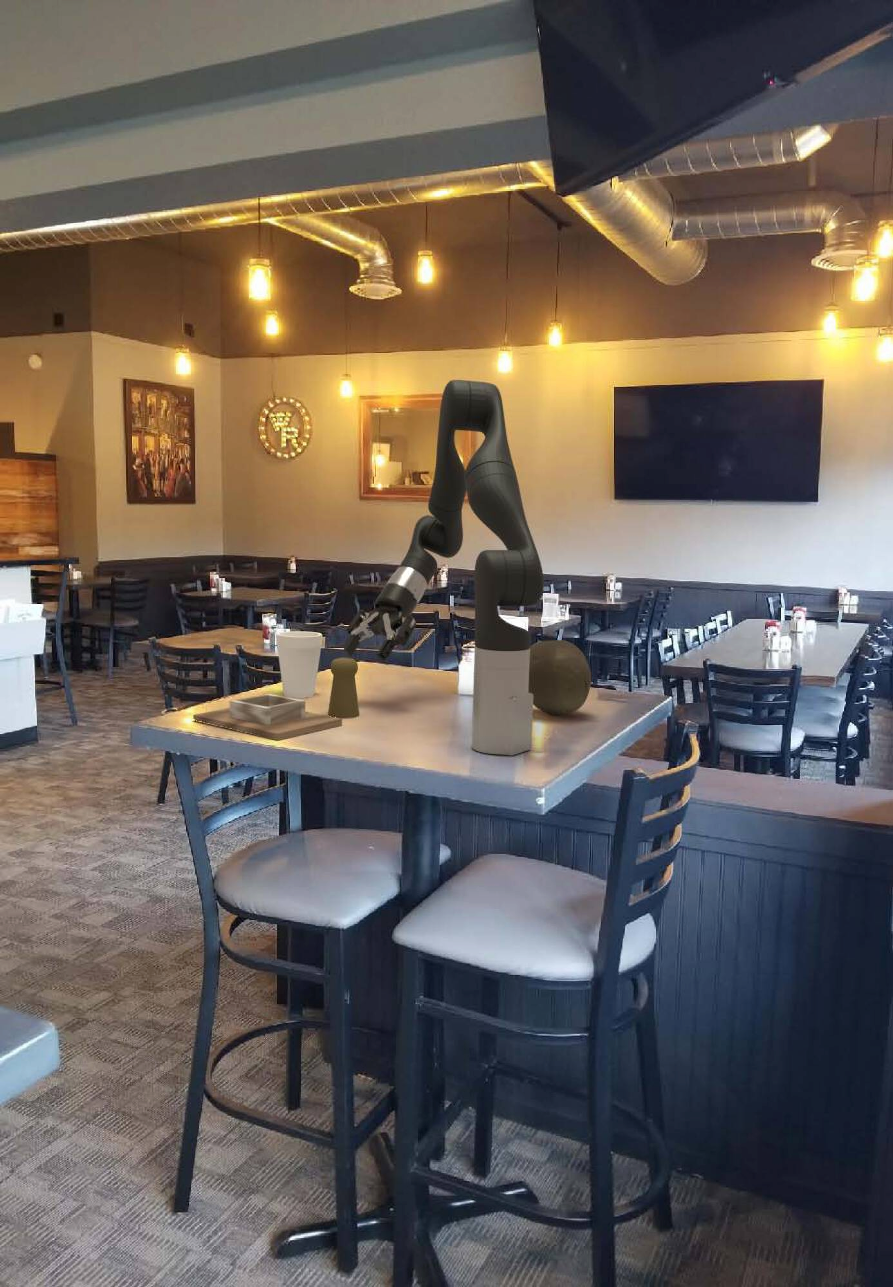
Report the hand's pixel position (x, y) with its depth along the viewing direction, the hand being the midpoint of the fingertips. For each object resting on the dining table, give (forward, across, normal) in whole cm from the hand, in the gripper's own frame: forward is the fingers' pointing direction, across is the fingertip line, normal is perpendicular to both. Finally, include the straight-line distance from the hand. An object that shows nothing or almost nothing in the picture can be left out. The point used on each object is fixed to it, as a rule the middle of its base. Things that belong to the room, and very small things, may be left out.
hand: (363, 655), depth 188 cm
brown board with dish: (+22, -5, -7) cm, 24 cm away
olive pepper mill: (+12, 0, +4) cm, 12 cm away
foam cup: (+6, -20, +10) cm, 23 cm away
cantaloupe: (-8, +30, +24) cm, 39 cm away
